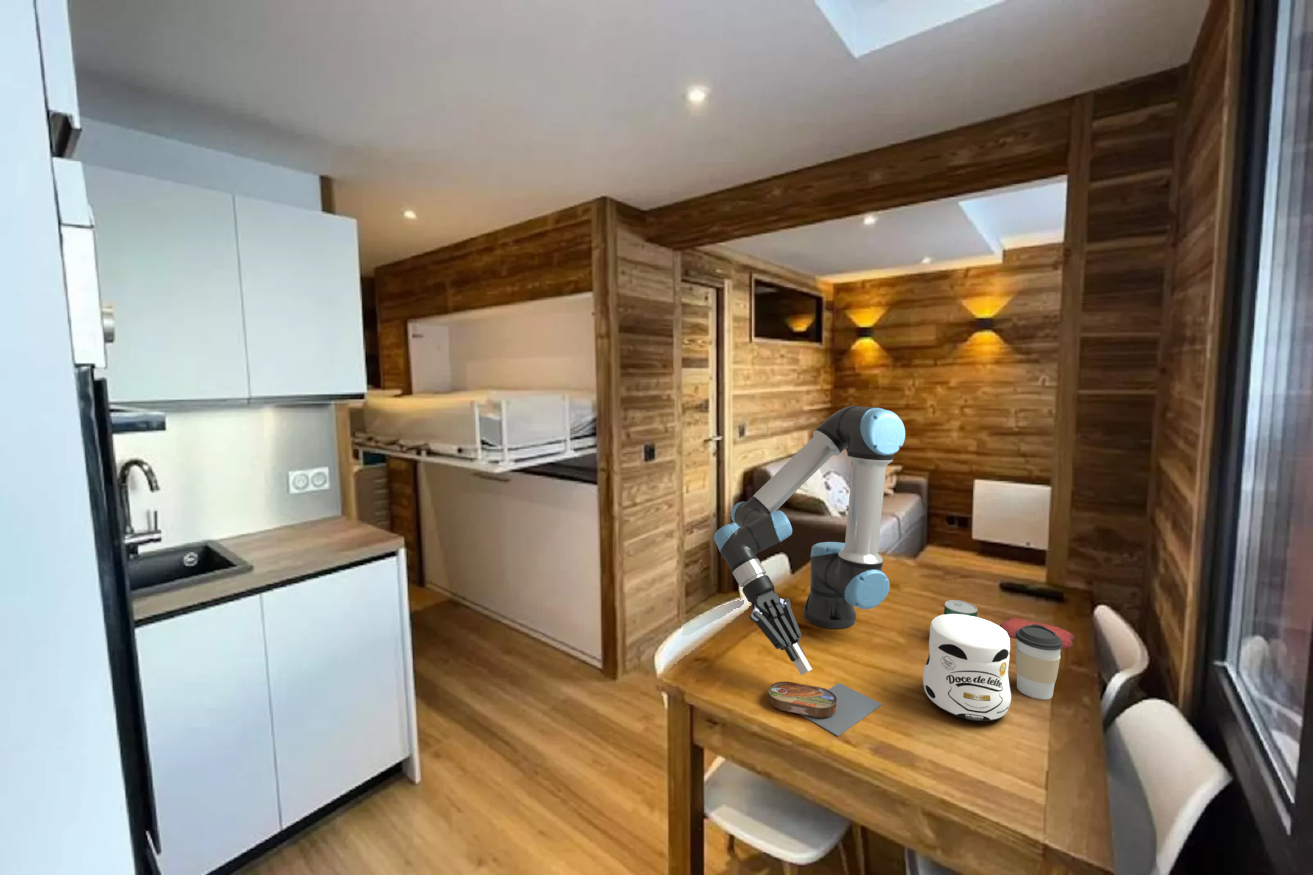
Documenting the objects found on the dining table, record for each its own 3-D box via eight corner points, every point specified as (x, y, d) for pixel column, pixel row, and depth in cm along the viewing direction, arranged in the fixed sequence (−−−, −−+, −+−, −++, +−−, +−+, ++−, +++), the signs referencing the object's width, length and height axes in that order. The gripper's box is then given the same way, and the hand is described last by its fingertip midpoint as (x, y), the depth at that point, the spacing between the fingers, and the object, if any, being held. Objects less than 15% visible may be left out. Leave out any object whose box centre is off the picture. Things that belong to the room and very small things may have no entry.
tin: (839, 690, 126) (834, 708, 119) (839, 704, 127) (834, 723, 119) (773, 678, 133) (764, 694, 125) (773, 691, 133) (764, 708, 125)
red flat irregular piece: (997, 636, 158) (997, 629, 158) (1002, 618, 169) (1003, 611, 169) (1074, 654, 148) (1074, 647, 147) (1074, 634, 159) (1075, 627, 158)
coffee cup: (1059, 707, 125) (1065, 643, 123) (1011, 694, 129) (1016, 633, 127) (1056, 687, 132) (1061, 627, 130) (1011, 676, 137) (1015, 618, 135)
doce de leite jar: (970, 738, 115) (976, 656, 112) (904, 692, 131) (908, 619, 128) (1028, 717, 121) (1035, 639, 119) (959, 676, 137) (963, 606, 135)
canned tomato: (979, 653, 148) (982, 613, 147) (947, 650, 150) (949, 611, 148) (969, 638, 156) (971, 601, 154) (938, 636, 157) (940, 599, 156)
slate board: (794, 711, 124) (794, 710, 124) (839, 683, 135) (839, 682, 135) (837, 736, 116) (837, 735, 116) (881, 705, 126) (882, 703, 126)
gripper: (763, 581, 146) (814, 668, 136) (727, 594, 139) (778, 688, 128) (779, 568, 142) (834, 657, 131) (743, 580, 134) (798, 676, 123)
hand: (806, 672), depth 129 cm, fingers closed
